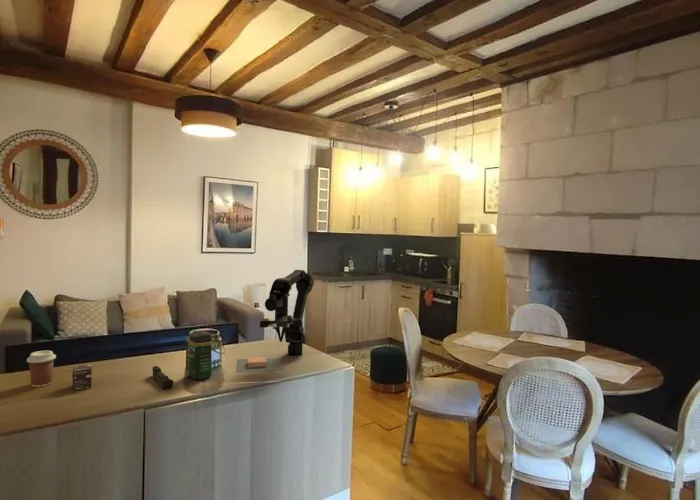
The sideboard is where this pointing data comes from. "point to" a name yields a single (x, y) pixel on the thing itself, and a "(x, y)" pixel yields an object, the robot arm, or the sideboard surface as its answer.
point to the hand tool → (162, 378)
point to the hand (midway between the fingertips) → (280, 341)
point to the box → (82, 376)
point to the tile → (257, 362)
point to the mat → (272, 365)
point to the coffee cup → (41, 367)
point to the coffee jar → (200, 355)
